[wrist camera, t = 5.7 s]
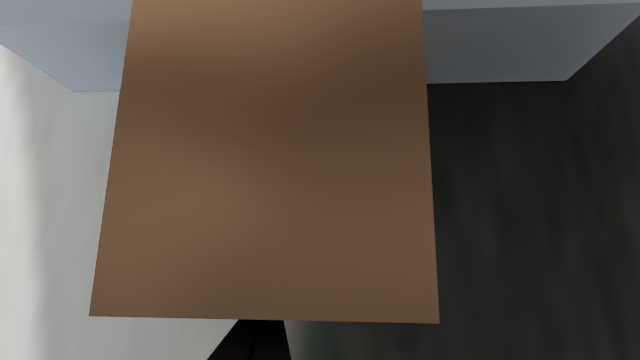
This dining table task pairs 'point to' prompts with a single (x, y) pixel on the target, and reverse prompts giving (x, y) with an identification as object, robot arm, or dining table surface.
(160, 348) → the dining table surface
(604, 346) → the dining table surface
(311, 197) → the walnut block
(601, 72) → the dining table surface
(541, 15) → the slate board
